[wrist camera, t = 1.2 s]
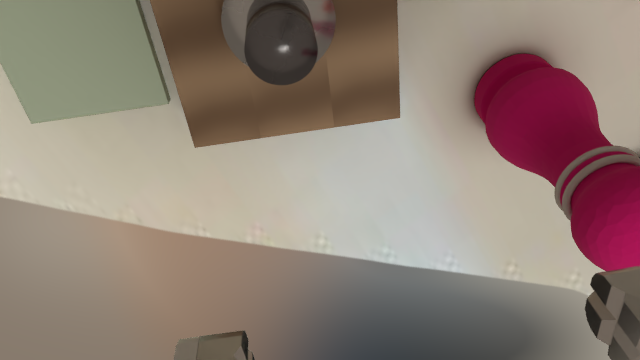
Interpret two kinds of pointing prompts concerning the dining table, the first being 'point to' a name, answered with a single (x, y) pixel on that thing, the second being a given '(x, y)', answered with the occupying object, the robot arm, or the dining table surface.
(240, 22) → the flanged metal shaft
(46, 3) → the mat
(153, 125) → the dining table surface
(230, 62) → the block
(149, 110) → the dining table surface
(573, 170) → the pepper mill
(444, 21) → the dining table surface
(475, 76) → the dining table surface
